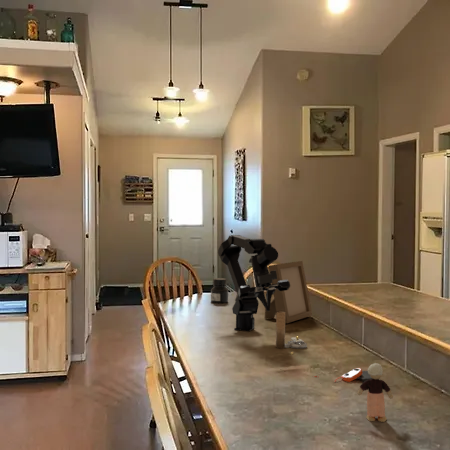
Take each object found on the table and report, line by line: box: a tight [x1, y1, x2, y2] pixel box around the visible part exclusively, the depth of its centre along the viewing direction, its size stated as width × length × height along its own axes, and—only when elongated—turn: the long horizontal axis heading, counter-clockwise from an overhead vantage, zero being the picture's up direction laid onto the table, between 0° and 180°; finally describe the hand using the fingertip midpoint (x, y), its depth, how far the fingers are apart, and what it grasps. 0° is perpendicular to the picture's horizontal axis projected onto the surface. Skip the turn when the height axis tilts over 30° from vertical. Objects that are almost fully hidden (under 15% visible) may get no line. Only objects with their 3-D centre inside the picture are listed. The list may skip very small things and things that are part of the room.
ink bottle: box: [210, 277, 229, 304], centre depth 272 cm, size 10×9×12 cm
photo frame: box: [264, 260, 313, 324], centre depth 230 cm, size 15×22×25 cm
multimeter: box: [313, 367, 372, 384], centre depth 146 cm, size 18×12×3 cm, turn 91°
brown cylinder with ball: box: [275, 311, 308, 349], centre depth 179 cm, size 6×11×12 cm, turn 109°
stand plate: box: [290, 335, 305, 355], centre depth 181 cm, size 20×15×2 cm
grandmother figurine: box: [356, 362, 394, 423], centre depth 119 cm, size 8×4×13 cm, turn 92°
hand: (268, 310), depth 191 cm, fingers closed
